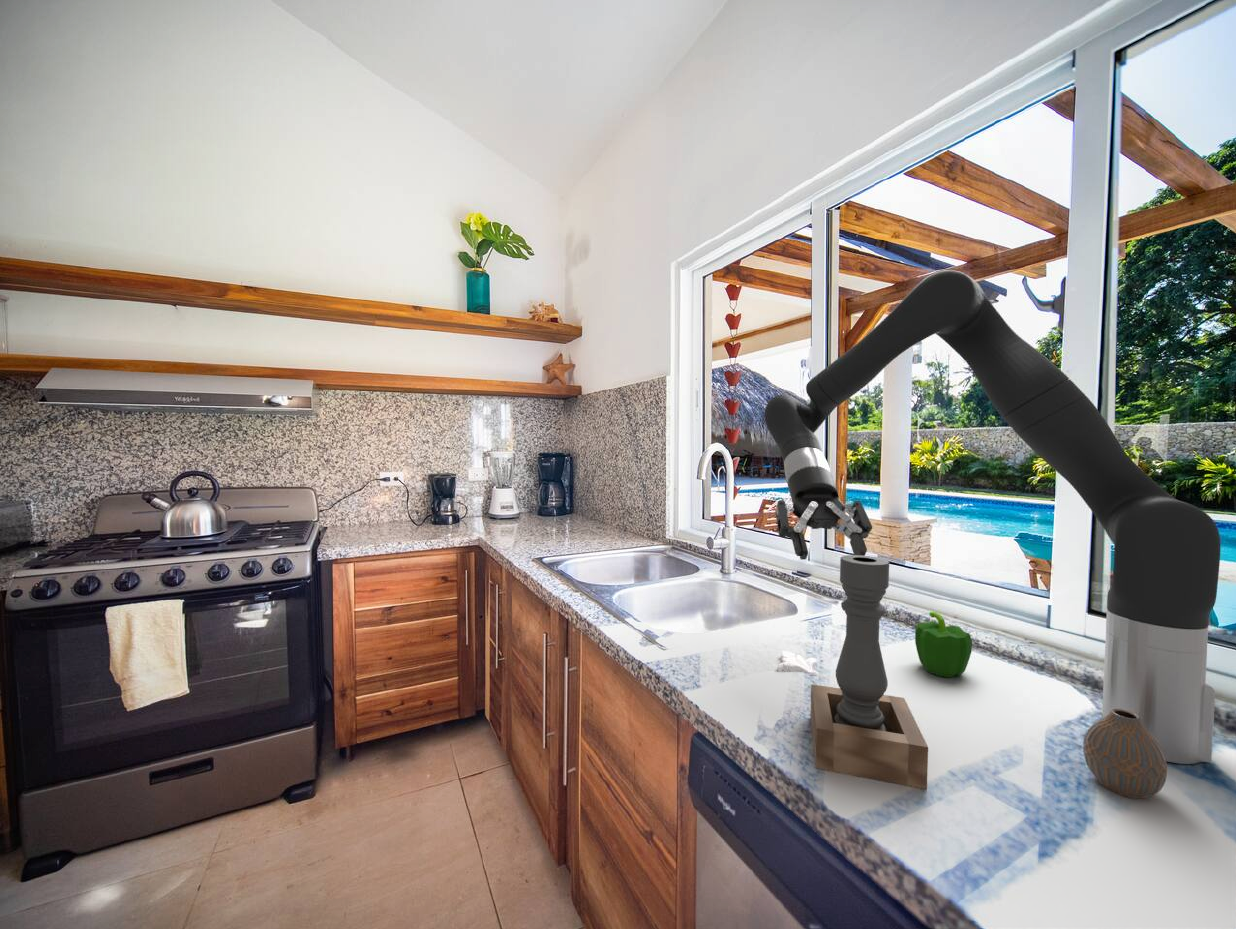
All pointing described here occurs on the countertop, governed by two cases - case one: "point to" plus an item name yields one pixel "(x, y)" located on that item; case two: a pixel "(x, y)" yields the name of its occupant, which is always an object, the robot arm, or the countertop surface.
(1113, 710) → the vase
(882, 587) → the candle holder
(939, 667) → the bell pepper
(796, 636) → the countertop surface
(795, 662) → the acanthus leaf ornament
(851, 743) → the socket block
